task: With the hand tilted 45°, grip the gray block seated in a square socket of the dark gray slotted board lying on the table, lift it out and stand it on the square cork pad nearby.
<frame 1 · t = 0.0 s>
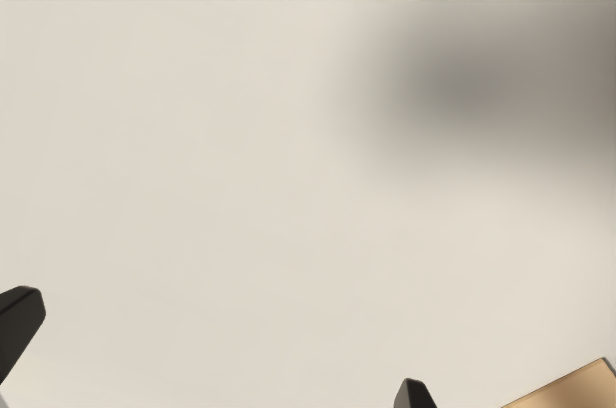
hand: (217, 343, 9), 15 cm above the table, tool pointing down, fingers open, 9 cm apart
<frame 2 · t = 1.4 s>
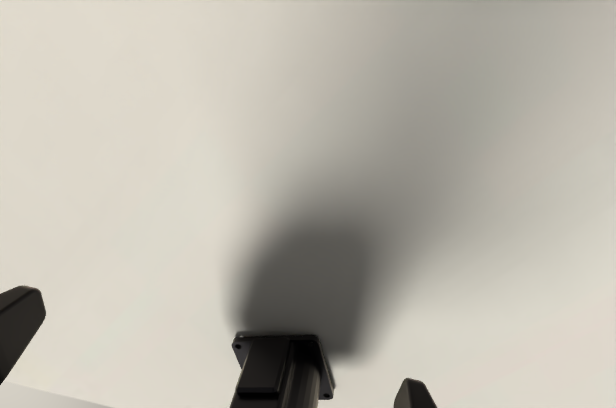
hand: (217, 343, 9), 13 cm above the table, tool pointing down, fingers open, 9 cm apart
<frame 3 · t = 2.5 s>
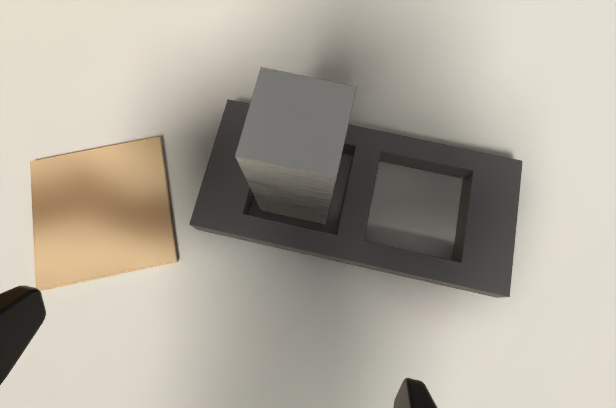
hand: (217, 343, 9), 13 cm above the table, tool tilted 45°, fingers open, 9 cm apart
gray block: (300, 186, 24), resting in dark gray slotted board
cork pad: (103, 210, 24), on the table
dark gray slotted board: (356, 198, 24), on the table
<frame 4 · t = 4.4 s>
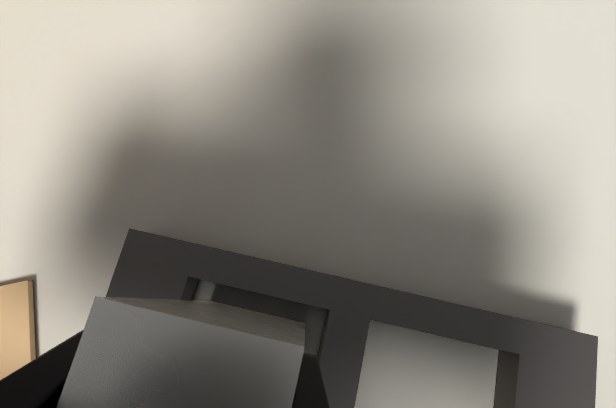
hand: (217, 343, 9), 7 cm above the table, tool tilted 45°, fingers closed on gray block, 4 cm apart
gray block: (244, 363, 15), resting in dark gray slotted board, touching gripper
dark gray slotted board: (332, 384, 15), on the table
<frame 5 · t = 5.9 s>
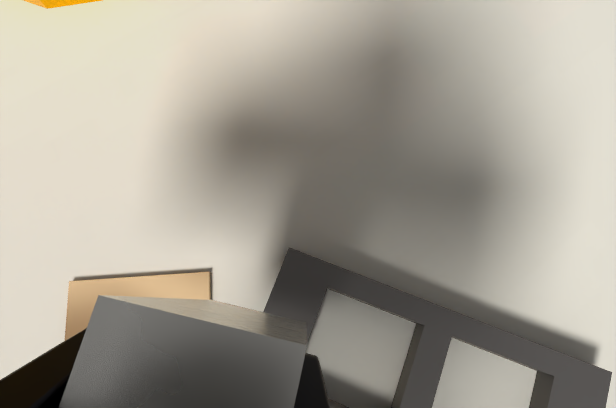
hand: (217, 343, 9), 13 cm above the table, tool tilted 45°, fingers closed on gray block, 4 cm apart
gray block: (245, 362, 15), point 7 cm above the table, touching gripper
cork pad: (139, 349, 22), on the table
dark gray slotted board: (415, 377, 22), on the table
when the fingers open (7 cm above the table, at t = 7.7 s): gray block stays where it is, resting on cork pad.
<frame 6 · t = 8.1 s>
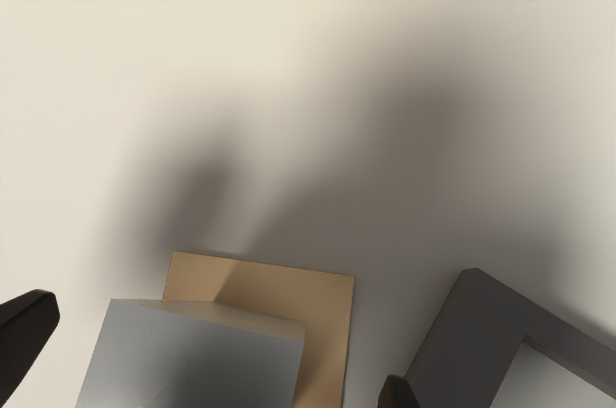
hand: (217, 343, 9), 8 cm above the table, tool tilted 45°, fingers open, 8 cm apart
gray block: (247, 360, 16), resting on cork pad
cork pad: (248, 359, 16), on the table
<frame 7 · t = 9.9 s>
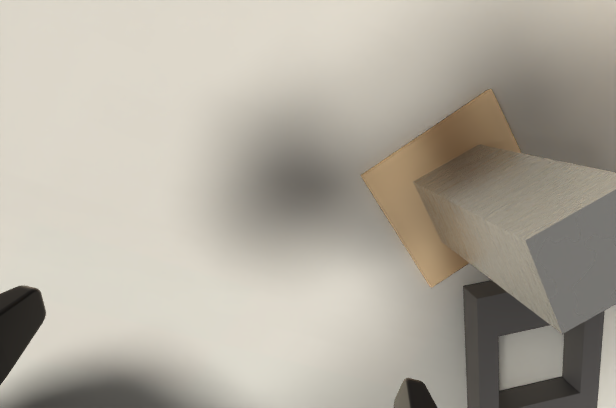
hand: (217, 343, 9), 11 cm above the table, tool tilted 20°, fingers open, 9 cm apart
gray block: (459, 194, 21), resting on cork pad
cork pad: (457, 193, 22), on the table
dark gray slotted board: (524, 395, 26), on the table
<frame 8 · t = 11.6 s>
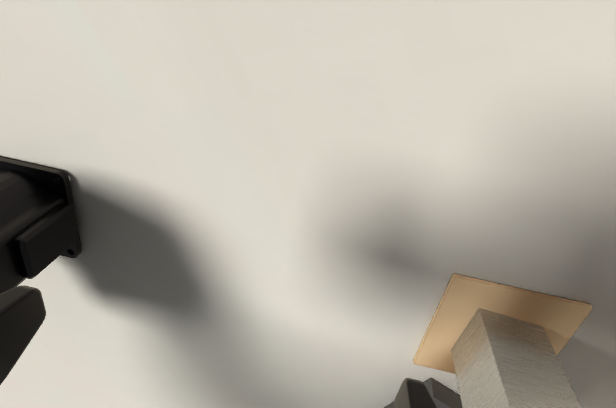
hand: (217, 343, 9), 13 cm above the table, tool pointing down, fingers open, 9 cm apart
gray block: (494, 338, 25), resting on cork pad
cork pad: (493, 334, 25), on the table
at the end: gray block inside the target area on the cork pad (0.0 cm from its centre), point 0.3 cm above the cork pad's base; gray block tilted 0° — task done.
